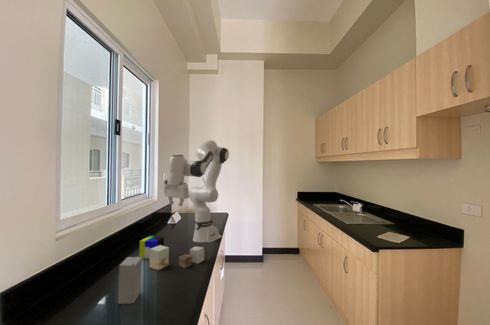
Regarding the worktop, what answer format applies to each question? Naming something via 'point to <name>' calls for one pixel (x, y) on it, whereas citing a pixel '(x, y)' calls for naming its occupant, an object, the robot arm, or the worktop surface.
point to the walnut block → (185, 260)
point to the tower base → (159, 263)
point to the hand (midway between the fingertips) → (175, 205)
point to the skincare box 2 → (197, 254)
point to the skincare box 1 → (129, 280)
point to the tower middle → (159, 252)
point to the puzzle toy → (149, 245)
